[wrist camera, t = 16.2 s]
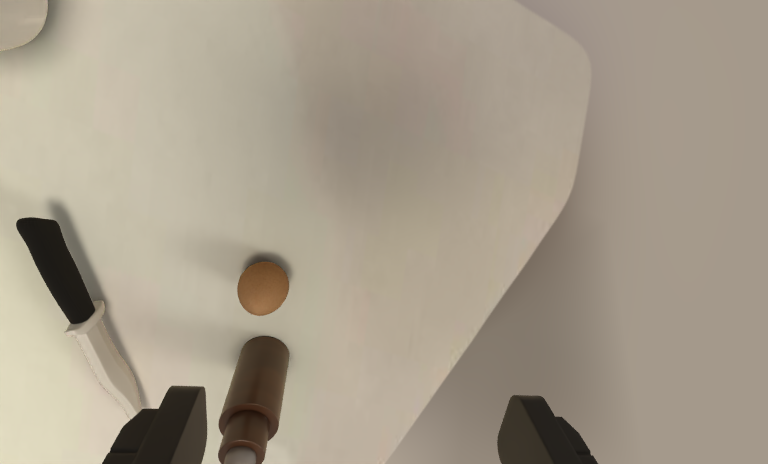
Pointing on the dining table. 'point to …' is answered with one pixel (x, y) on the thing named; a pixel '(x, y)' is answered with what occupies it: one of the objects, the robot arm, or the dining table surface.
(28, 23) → the mug
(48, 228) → the knife
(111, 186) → the dining table surface
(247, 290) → the egg
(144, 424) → the robot arm
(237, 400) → the pepper grinder
